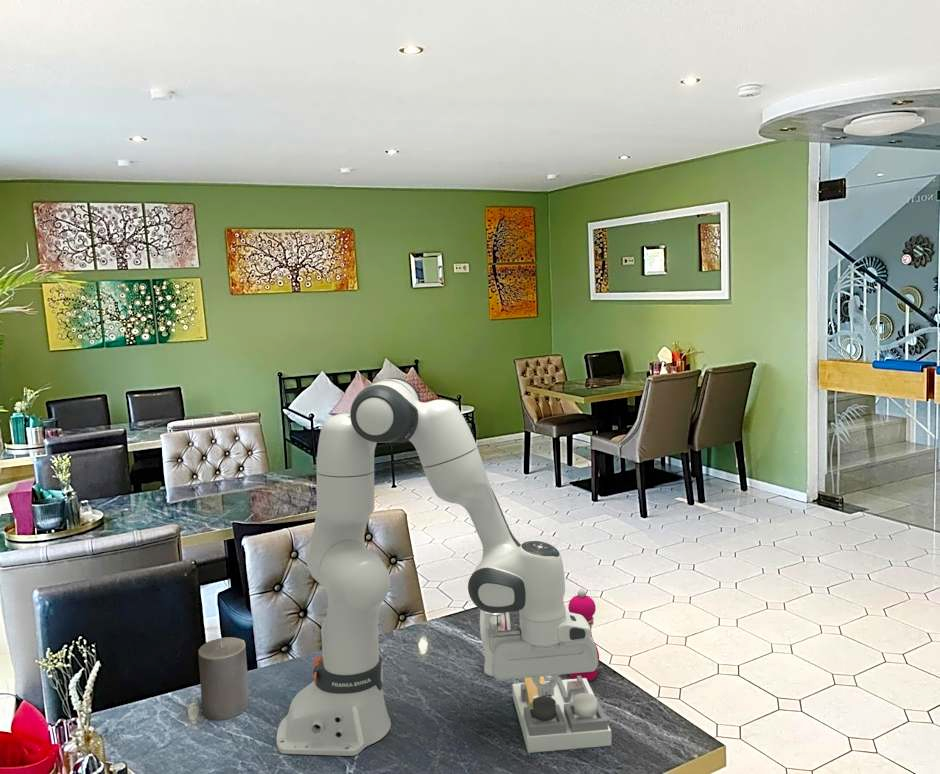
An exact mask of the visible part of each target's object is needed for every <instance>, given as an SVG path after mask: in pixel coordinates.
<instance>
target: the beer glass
mask: <svg viewBox="0 0 940 774" xmlns="http://www.w3.org/2000/svg"><path fill="white" fill-rule="evenodd" d="M510 614H511V613H510V612H507V613H488V612H485V611H483V610H481V609H479V632H480V638H481V642H482V643H481V644H482V646H483V653H484V662H483V673H484V675H487V676H489V677H493V678H495V677H494V676H493V672H492V652H491V650H490V647H489V639H490V637H491V636H492V635H493V634H495V633H497V631H499V630H510V629H511V616H510ZM495 636H497V635H495Z"/></svg>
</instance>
